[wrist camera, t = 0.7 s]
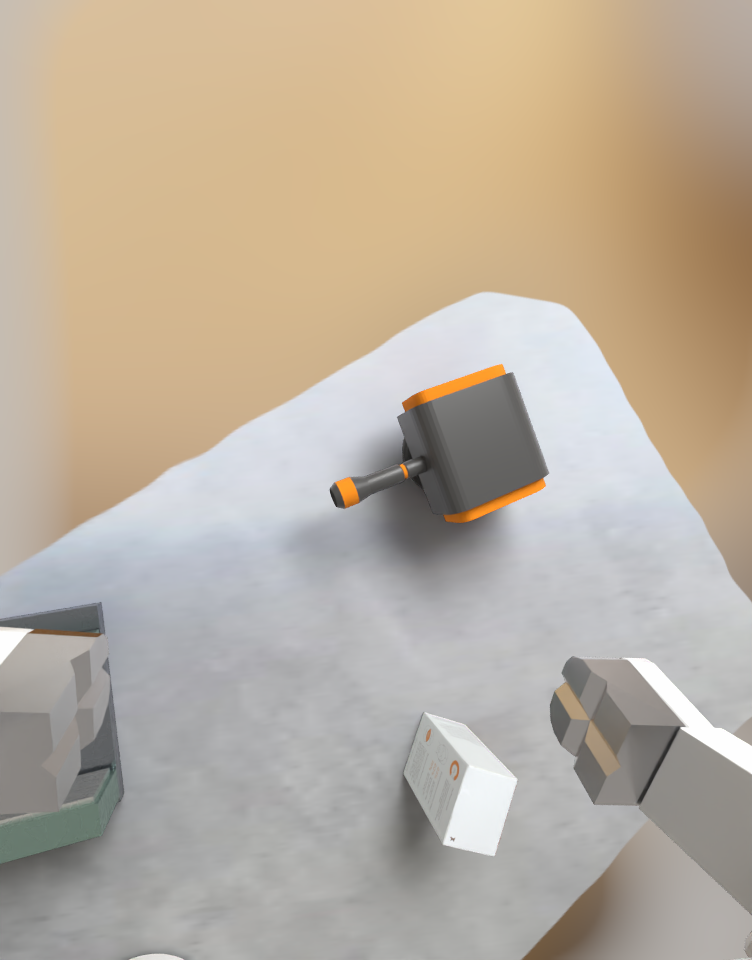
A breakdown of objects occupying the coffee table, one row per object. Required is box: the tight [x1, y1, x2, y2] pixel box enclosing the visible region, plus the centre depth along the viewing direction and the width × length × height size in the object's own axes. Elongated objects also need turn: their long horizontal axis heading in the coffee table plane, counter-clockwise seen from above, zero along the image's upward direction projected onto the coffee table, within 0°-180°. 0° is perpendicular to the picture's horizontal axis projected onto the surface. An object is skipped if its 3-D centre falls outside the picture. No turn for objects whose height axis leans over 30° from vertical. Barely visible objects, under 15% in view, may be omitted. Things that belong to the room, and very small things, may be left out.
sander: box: [330, 364, 549, 523], centre depth 55 cm, size 15×25×13 cm, turn 111°
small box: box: [403, 712, 518, 857], centre depth 54 cm, size 8×6×13 cm
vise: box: [0, 602, 124, 864], centre depth 47 cm, size 21×11×8 cm, turn 7°
